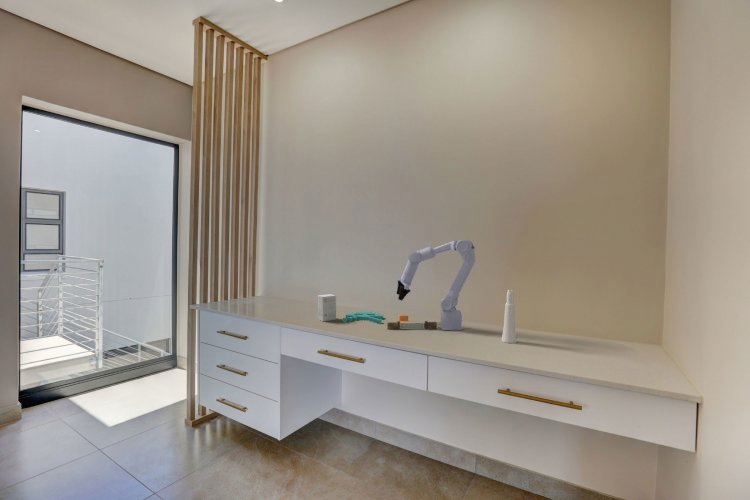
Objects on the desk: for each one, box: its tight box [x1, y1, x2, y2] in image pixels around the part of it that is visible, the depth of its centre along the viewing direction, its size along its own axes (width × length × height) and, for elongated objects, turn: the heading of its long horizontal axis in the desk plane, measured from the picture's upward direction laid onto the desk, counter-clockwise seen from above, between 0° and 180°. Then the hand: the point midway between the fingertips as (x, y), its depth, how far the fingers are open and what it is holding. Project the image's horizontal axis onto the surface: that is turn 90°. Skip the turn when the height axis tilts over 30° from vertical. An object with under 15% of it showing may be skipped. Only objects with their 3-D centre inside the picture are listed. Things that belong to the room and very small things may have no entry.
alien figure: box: [341, 310, 384, 325], centre depth 189 cm, size 20×2×20 cm
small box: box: [316, 293, 337, 322], centre depth 186 cm, size 8×6×13 cm
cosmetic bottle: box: [501, 289, 518, 344], centre depth 150 cm, size 6×6×22 cm
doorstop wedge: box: [398, 313, 411, 323], centre depth 178 cm, size 4×8×4 cm, turn 4°
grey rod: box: [400, 322, 425, 329], centre depth 169 cm, size 12×2×2 cm, turn 95°
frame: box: [386, 320, 438, 330], centre depth 169 cm, size 24×2×4 cm, turn 95°
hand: (399, 297), depth 182 cm, fingers open, 7 cm apart
